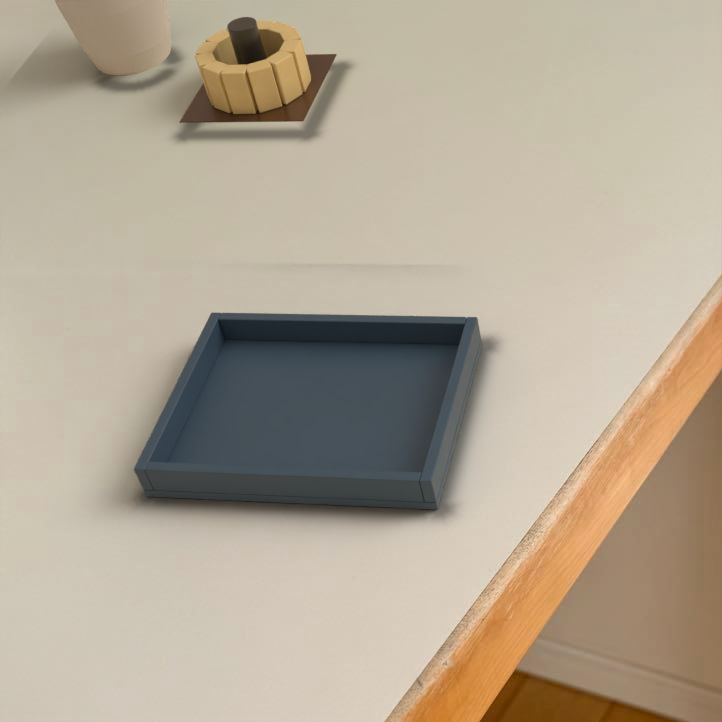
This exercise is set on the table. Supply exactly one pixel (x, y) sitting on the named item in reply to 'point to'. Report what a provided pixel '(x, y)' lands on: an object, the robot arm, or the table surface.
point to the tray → (315, 410)
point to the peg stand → (249, 52)
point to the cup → (120, 32)
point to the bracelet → (254, 71)
